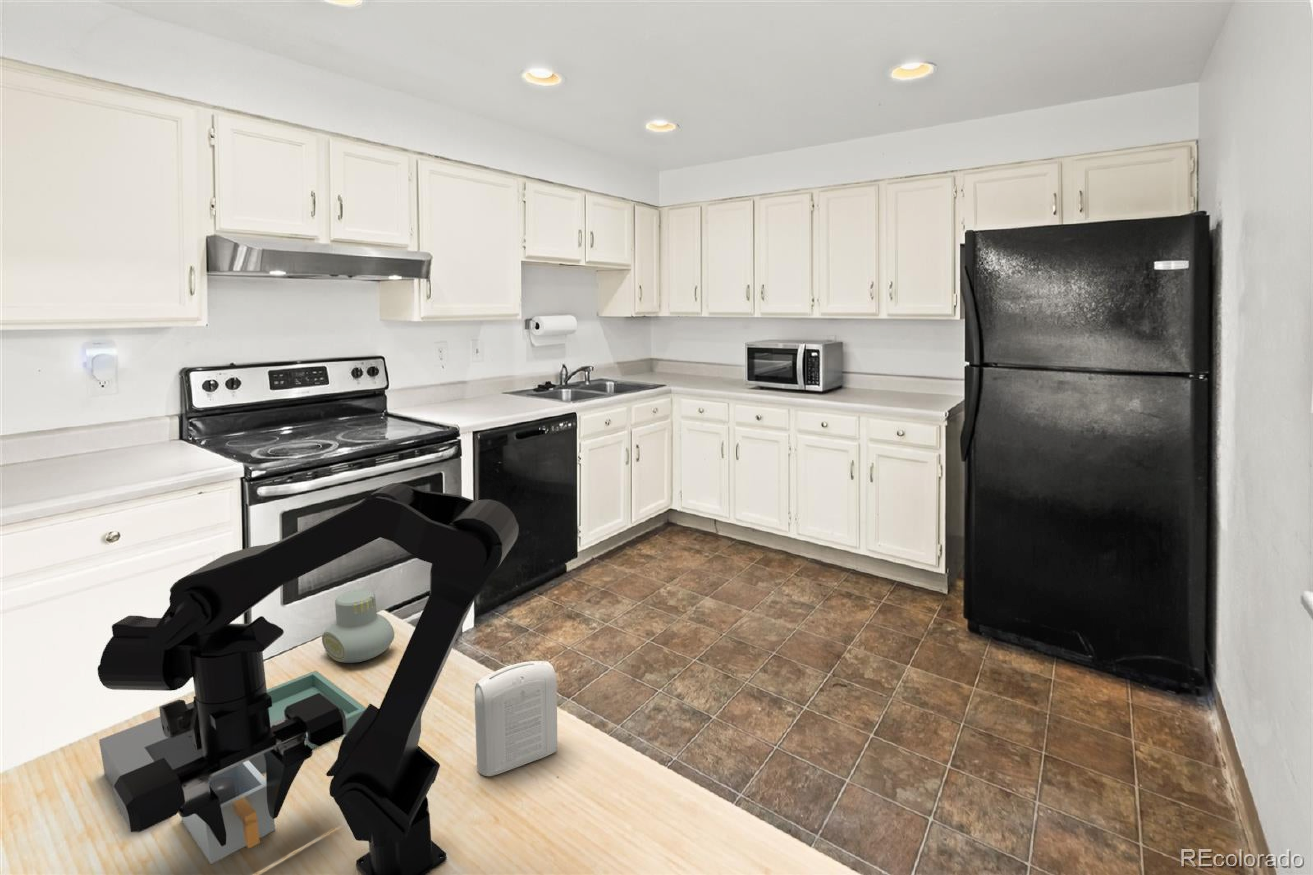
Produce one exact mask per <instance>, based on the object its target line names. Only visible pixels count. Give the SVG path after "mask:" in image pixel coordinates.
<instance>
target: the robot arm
mask: <svg viewBox="0 0 1313 875" xmlns="http://www.w3.org/2000/svg"><path fill="white" fill-rule="evenodd" d="M519 531H520V530H519V523H518V522H517V519H516V517H515V514H514V513H513V511H512V510H511V509H510V508H509V507H508V506H507V505H505V504H504V503H502V502H501V501H498V500H494V499H490V498H489V499H480V500H474V499H472V498H468V497H465V496H462V495H458V494H452V493H446V492H438V491H430V490H424V489H421V488H417V487H414V486H413V485H412V486H410V485H409V484H405V483H401V482H391V483H388V484H386V485H384V486H382V487H380V488H379V489H377V490H376V491H374V492H373V493H371V494H370V495H368V496H366V497H365V498H363V499H361V500H359V501H357V502H356V503H355V502H354V503H353V504H351V505H349V506H347V507H345V508H343V509H341V510H339V511H338V512H334V513H333V514H331V515H329V516H327V517H325V518H323V519H320V520H319V521H317V522H315V523H313V524H311V525H309V526H307V527H305V528H303V529H301V530H299V531H297V532H295V533H293V534H290V535H289V536H287V537H284V538H283V539H280V540H279V541H276V542H275V541H274V542H271V543H268V544H261V545H254V546H250V547H247V548H243V549H240V550H236V551H233V552H228V553H226V554H224V555H221V556H219V557H218V558H215V559H214V560H212V561H211V562H209V563H206V564H205V565H203V566H202V567H199V568H198V569H196V570H194V571H192V572H190V573H188V574H186V575H184V576H183V577H181V578H179V579H178V580H176V581H175V582H174V583H173V584H172V585H171V587H170V589H169V593H170V595H169V598H168V599H169V606H168V607H167V609H166V611H165V612H164V614H163V615H162V617H147V616H142V615H127V616H126V617H124V618H122V619H120V620H119V621H117V622H115V623H113V624H112V625H111V632H112V637H111V638H110V639H109V640H108V642H107V643H106V645H105V646H104V649H103V650H102V651H103V652H102V654H101V657H100V659H99V660H100V662H99V665H98V666H97V676H98V680H99V682H101V684H102V686H104V687H105V688H107V689H109V690H113V691H116V690H117V691H120V690H121V691H170V692H171V691H177V690H180V689H182V688H183V687H184V686H186V684H187V683H188V682H189V681H190V680H191V679H192V678H193V679H192V682H193V688H194V696H193V701H191V702H189V703H187V702H186V701H185V700H184V699H177V700H174V701H170V702H168V703H165V704H163V705H159V717H160V719H161V724H162V729H163V733H164V735H165V737H169V738H174V737H176V736H179V735H181V734H184V733H186V732H187V735H188V737H192V743H193V746H194V747H195V749H196V750H199V749H202V750H203V756H202V757H200V758H198V759H196V760H194V761H192V762H190V763H188V764H185V765H183V766H181V767H178V768H176V769H174V770H173V769H172V768H171V767H170V765H169V764H168V762H167V761H166V760H165V758H162V759H159V760H157V761H155V762H152V763H150V764H147V765H145V766H143V767H140V768H138V769H135V770H133V771H131V772H128V773H126V774H124V775H121V776H119V778H118V780H117V781H116V783H115V785H114V786H113V788H112V792H113V798H114V805H115V806H116V808H117V810H118V812H119V814H120V815H121V817H122V819H123V821H124V822H125V824H126V826H127V828H128V829H129V831H130V832H131V833H137V832H138V833H140V831H141V832H143V831H145V830H147V829H149V828H151V827H153V826H156V825H157V824H159V823H162V822H164V821H165V820H167V819H170V818H171V817H174V816H176V815H177V814H178V815H179V817H188V816H191V815H193V814H196V815H197V816H198V817H200V818H201V819H202V820H203V821H204V822H205V823H206V824H207V826H208V827H209V829H210V830H211V832H212V833H213V835H214V836H215V838H216V839H217V841H218V842H219V844H220V845H221V846H224V845H226V829H225V825H224V820H223V815H222V810H221V806H220V801H219V797H218V796H217V795H216V794H215V792H214V791H213V790H212V788H211V787H210V786H209V779H210V778H211V777H213V776H215V775H217V774H219V773H222V772H224V771H226V770H228V769H230V768H233V767H235V766H237V765H239V764H241V763H244V762H246V761H248V760H250V759H252V758H255V757H257V756H259V755H261V754H263V753H264V757H265V761H266V772H265V774H266V775H265V779H266V786H267V804H268V810H269V815H270V816H271V817H272V819H274V820H275V819H278V817H279V815H280V812H281V809H282V807H283V805H284V803H285V800H286V798H287V796H288V793H289V791H290V788H291V787H292V784H293V782H294V780H295V779H296V777H297V775H298V773H299V771H300V770H301V768H302V765H303V764H304V762H305V761H306V760H309V758H311V757H312V756H313V750H314V749H313V750H312V749H311V748H310V747H309V746H308V745H307V744H306V739H305V738H306V733H308V741H309V742H310V743H312V744H315V745H317V746H319V747H321V745H322V746H323V744H324V745H325V743H326V744H327V742H328V743H330V742H332V741H335V740H336V739H339V738H340V737H342V736H344V734H345V732H346V730H347V728H346V717H345V714H344V712H343V710H342V709H341V708H340V707H339V706H338V705H336V704H335V703H334V702H332V701H331V700H330V699H329V698H327V697H326V696H324V695H322V694H320V693H317V694H315V695H313V696H310V697H308V698H305V699H303V700H301V701H298V702H296V703H293V704H291V705H289V706H287V707H286V709H285V710H284V714H285V717H284V718H282V719H279V720H277V721H275V722H272V723H270V716H269V708H270V707H272V699H271V696H270V695H269V694H267V689H268V688H267V681H266V671H265V663H264V662H265V661H264V655H263V654H264V653H263V652H264V651H265V650H266V649H268V648H269V647H270V646H271V645H273V643H275V642H276V641H277V640H278V639H279V638H281V637H282V636H283V635H284V633H285V631H284V629H283V628H281V627H280V626H278V625H277V624H274V623H272V622H270V621H268V620H267V619H266V618H265V617H264V616H263V615H260V616H257V618H256V619H254V620H253V621H252V622H251V623H232V622H234V621H235V620H237V619H238V618H240V617H241V616H242V615H243V614H246V613H247V612H248V611H249V610H250V609H252V608H253V607H255V606H256V605H258V604H259V603H260V602H262V601H263V600H265V599H266V598H267V597H269V596H270V595H271V594H273V593H274V592H275V591H277V589H279V588H280V587H282V586H284V585H285V584H288V583H289V582H293V580H296V579H298V578H300V577H302V576H305V575H306V574H308V573H311V572H312V571H314V570H317V569H318V568H320V567H322V566H324V565H325V566H326V564H328V563H331V562H333V561H335V560H337V559H339V558H341V557H343V556H344V555H347V554H350V553H352V552H354V551H356V550H358V549H360V548H362V547H363V546H365V545H367V544H370V543H372V542H373V541H377V540H378V539H383V540H387V541H391V542H393V543H394V544H396V545H397V546H398V547H400V548H401V549H403V550H404V551H406V552H407V553H408V554H410V555H411V556H413V557H414V558H415V559H418V560H420V561H424V562H427V563H430V564H431V568H430V573H429V594H428V598H427V601H426V602H425V605H424V607H423V610H422V612H421V613H420V616H419V619H418V621H417V623H416V625H415V628H414V629H413V632H412V634H411V636H410V639H409V641H408V643H407V645H406V648H405V649H404V652H403V654H402V656H401V658H400V661H399V663H398V666H397V668H396V670H395V673H394V674H393V676H392V679H391V681H390V683H389V685H388V688H387V690H386V692H385V694H384V696H383V699H382V702H381V704H380V706H379V708H378V707H377V706H376V705H374V704H372V703H369V704H368V705H367V707H366V709H365V711H364V712H363V713H362V715H361V716H360V717H359V718H358V720H357V721H356V722H355V724H354V725H353V726H352V728H351V729H350V730H349V732H348V733H347V734H345V736H344V737H343V738H342V740H341V743H340V745H339V749H338V753H337V757H336V760H335V761H334V762H333V763H332V765H331V766H330V767H329V770H327V772H326V773H325V775H326V776H327V777H332V778H331V780H330V784H329V788H328V790H329V796H330V797H331V798H333V800H334V802H335V803H336V805H337V806H338V808H339V810H340V812H341V814H342V817H344V820H345V821H346V824H347V825H348V827H349V829H350V831H351V833H352V835H353V837H354V840H356V841H358V842H361V841H362V842H363V841H364V842H368V849H369V851H367V853H365V854H363V855H361V856H360V857H358V858H357V859H356V861H355V866H356V868H357V869H358V870H359V872H360V873H361V874H362V875H428V873H430V872H431V871H433V870H434V869H435V868H437V867H439V866H440V865H441V864H443V863H444V862H446V861H447V853H446V851H444V849H442V848H441V847H440V846H438V845H437V843H435V842H434V841H433V840H432V832H431V830H432V829H431V816H430V815H431V814H430V811H429V798H428V797H427V795H428V793H429V791H430V790H431V788H432V785H433V784H434V783H435V781H436V778H437V776H438V773H439V771H440V768H441V764H440V763H439V762H438V760H436V759H435V758H434V757H432V756H431V755H430V754H429V753H428V752H427V751H426V750H424V749H423V748H422V747H421V746H419V742H420V739H421V738H420V737H421V733H422V716H423V712H424V710H425V709H426V708H425V707H427V706H426V705H427V703H428V701H429V700H430V697H431V694H432V692H433V691H434V688H435V686H436V684H437V682H438V679H439V678H440V675H441V673H442V671H443V670H444V669H443V668H444V667H445V666H446V662H447V661H448V658H449V656H450V654H451V652H452V650H453V648H454V645H455V642H456V641H457V639H458V636H459V634H460V632H461V630H462V628H463V626H464V623H465V622H466V619H467V617H468V615H469V612H470V610H471V608H472V606H473V604H474V602H475V601H476V599H477V598H478V596H479V595H480V593H481V592H482V590H483V589H484V588H485V586H486V585H487V583H488V582H489V581H490V580H491V578H492V576H493V575H494V574H495V573H496V571H497V570H498V568H499V566H500V565H501V564H502V562H503V561H504V559H505V558H506V556H507V555H508V553H509V551H511V549H512V548H513V546H514V544H515V542H517V540H518V535H519ZM329 741H330V742H329Z"/></svg>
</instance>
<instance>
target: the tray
mask: <svg viewBox="0 0 1313 875" xmlns="http://www.w3.org/2000/svg"><path fill="white" fill-rule="evenodd" d="M266 689H267V694H269V695H270V696H271V699H272V707H270V708H269V716H270V723H272V722H275V721H277V720H279V719H282V718H284V717H285V714H284V710H285V709H286V707H287V706H289V705H291V704H293V703H296V702H298V701H301V700H303V699H305V698H308V697H310V696H313V695H315V694H317V693H320V694H322V695H324V696H326V697H327V698H329V699H330V700H331V701H332V702H334V703H335V704H336V705H338V706H339V707H340V708H341V709H342V710H343V712H344V714H345V717H346V728H347V730H346V732H345V734H344V735H346V734H347V733H348V732H349V730H350V729H351V728H352V726H353V725H354V724H355V722H356V721H357V720H358V718H359V717H360V716H361V715H362V713H363V712H364V711H365V709H366V708H367V707H366V706H364V705H363V704H362V703H360V702H359V701H358V700H356V699H355V698H354V697H352V696H351V695H349V693H347V692H346V691H344V690H343V689H341V687H339V686H338V685H336V684H335V683H333V682H332V681H331V680H329V679H328V678H327V677H326V676H324V675H323V674H322V673H320V672H319V671H318V670H313V671H311V672H309V673H306V674H304V675H301V676H298V677H295V678H293V679H291V680H287V681H285V682H282V683H281V684H277V685H275V686H273V687H270V688H266ZM344 735H343V736H344ZM305 739H306V744H307V745H308V746H309V747H310V748H311V749H312V750H315V749H317V748H319V747H321V746H323V745H325V744H327V743H330V742H331V741H329V742H327V743H325V744H323V745H321V746H317V745H315V744H312V743H310V742H309V741H308V733H306V738H305Z"/></svg>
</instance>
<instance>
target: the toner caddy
mask: <svg viewBox="0 0 1313 875" xmlns="http://www.w3.org/2000/svg"><path fill="white" fill-rule="evenodd" d="M220 777H232V778H233V779H234V783H235V791H236V797H235V798H233V799H231V800H229V801H227V802H225V803H223V804H221V805H220V806H221V810H222V815H223V820H224V825H225V829H226V845H224V846H221V845H220V844H219V842H218V841H217V839H216V838H215V836H214V835H213V833H212V832H211V830H210V829H209V827H208V826H207V824H206V823H205V822H204V821H203V820H202V819H201V818H200V817H198V816H197V815H196V814H193V815H191V816H188V817H181V816H180V817H181V822H182V823H183V825H184V827H185V828H186V829H187V832H188V833H189V834H190V835H191V837H192V838H193V840H194V841H195V843H196V844H197V846H198V847H199V849H200V851H202V853H203V855H204V856H205V858H206V859H207V861H208V862H209V864H210V865H213V864H215V863H216V862H218V861H219V860H222V859H224V858H225V857H227V856H228V855H229V856H230V855H231V854H233V853H235V852H237V851H239V850H240V849H242V848H244V847H247V849H250V848H253V847H254V846H256V845H258V844H260V843H261V842H260V841H261V840H260V838H264V836H267V835H269V834H270V833H272V832H274V831H275V830H276V824H275V819H272V817H271V816H270V815H269V810H268V804H267V786H266V777H265V776H263V773H262V774H261V773H260V772H259V771H258V770H257V769H256V768H255V767H254V766H253V765H252V763H251V762H250V761H249V760H248V761H246V762H244V763H241V764H239V765H237V766H235V767H233V768H230V769H228V770H226V771H224V772H222V773H219V774H217V775H215V776H213V777H211V778H210V779H209V782H211V781H213V780H215V779H217V778H220Z"/></svg>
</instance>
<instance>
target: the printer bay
mask: <svg viewBox="0 0 1313 875" xmlns="http://www.w3.org/2000/svg"><path fill="white" fill-rule="evenodd" d="M98 743H99V748H100V755H101V760H102V766H103V772H104V776H105V778H106V779H107V781H108V783H109V784H110V786H111V788H112V789H113V786H114V785H115V783H116V781H117V780H118V778H119V776H121V775H124V774H126V773H128V772H131V771H133V770H135V769H138V768H140V767H143V766H145V765H147V764H150V763H152V762H155V761H157V760H159V759H162V758H165V760H166V761H167V762H168V764H169V765H170V767H171V768H172V769H173V770H174V769H176V768H178V767H181V766H183V765H185V764H188V763H190V762H192V761H194V760H196V759H198V758H200V757H202V756H203V750H202V749H199V750H196V749H195V747H194V746H193V743H192V737H188V735H187V732H186V733H184V734H181V735H179V736H176V737H174V738H169V737H165V735H164V733H163V729H162V724H161V719H160V716H158V717H155V718H153V719H150V720H147V721H144V722H142V723H140V724H137V725H134V726H132V727H129V728H127V729H124V730H121V731H119V732H116V733H113V734H110V735H108V736H105V737H101V738H99V739H98ZM249 761H250V762H251V763H252V765H253V766H254V767H255V768H256V769H257V770H258V771H259V772H260V773H261V774H262V775H263V774H264V773H266V761H265V757H264V753H263V754H261V755H259V756H257V757H255V758H252V759H250V760H249ZM140 832H142V831H140ZM140 832H139V833H140Z"/></svg>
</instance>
